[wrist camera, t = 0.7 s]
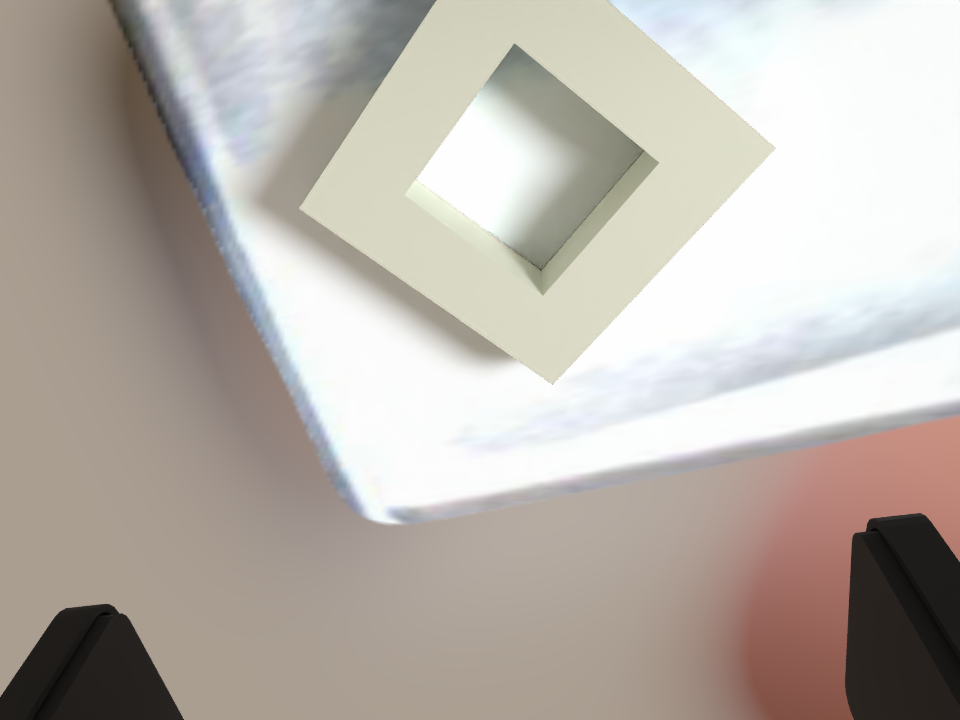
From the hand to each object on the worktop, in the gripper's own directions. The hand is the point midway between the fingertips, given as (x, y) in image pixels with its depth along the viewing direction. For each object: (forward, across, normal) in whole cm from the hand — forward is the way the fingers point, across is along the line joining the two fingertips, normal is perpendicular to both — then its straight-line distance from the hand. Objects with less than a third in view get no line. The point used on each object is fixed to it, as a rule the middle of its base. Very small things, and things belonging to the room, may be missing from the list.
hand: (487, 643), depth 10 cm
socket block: (+28, -1, +1) cm, 28 cm away
